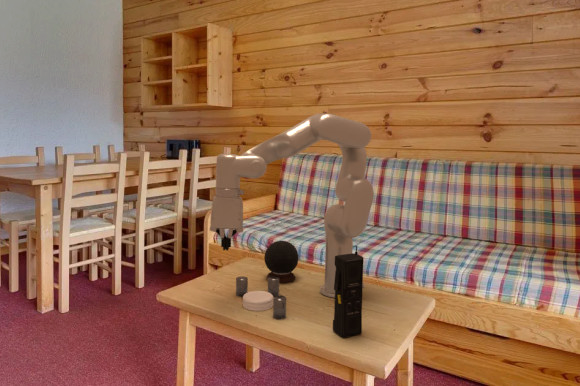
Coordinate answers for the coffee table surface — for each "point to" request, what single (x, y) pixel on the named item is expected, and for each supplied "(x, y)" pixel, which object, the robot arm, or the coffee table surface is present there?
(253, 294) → the coaster
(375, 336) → the coffee table surface
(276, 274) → the black ball on stand
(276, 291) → the posts
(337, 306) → the portable radio
